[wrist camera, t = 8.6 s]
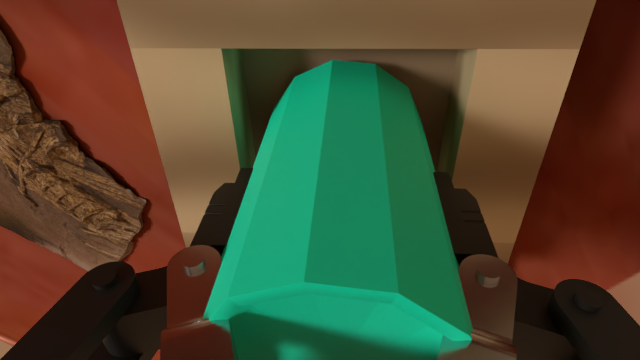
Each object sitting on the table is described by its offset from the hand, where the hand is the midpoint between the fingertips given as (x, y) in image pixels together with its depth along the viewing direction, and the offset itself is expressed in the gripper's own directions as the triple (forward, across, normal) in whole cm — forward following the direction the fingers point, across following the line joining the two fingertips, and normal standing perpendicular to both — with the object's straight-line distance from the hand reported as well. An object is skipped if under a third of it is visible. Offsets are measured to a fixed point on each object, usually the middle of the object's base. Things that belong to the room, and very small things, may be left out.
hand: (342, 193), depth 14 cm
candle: (+4, 0, 0) cm, 4 cm away
